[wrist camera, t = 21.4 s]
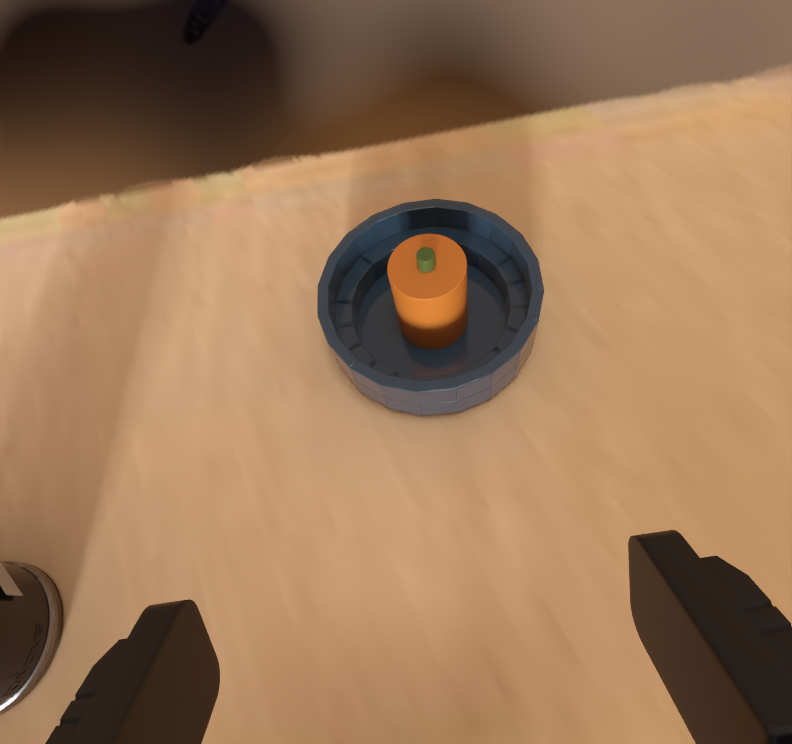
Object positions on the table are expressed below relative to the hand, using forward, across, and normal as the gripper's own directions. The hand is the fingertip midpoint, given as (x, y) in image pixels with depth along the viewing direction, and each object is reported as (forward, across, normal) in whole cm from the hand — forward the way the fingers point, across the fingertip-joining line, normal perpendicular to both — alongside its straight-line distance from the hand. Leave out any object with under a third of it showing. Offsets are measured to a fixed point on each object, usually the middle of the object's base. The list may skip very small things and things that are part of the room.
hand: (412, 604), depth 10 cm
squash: (+32, -2, +3) cm, 32 cm away
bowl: (+33, -2, +4) cm, 33 cm away
